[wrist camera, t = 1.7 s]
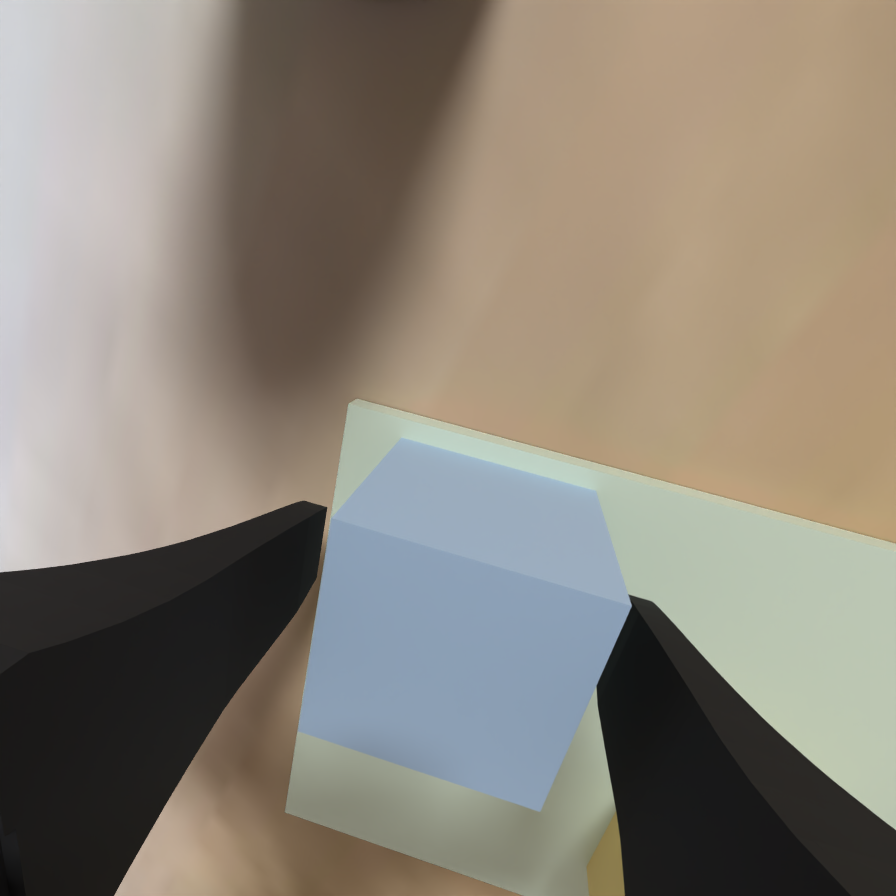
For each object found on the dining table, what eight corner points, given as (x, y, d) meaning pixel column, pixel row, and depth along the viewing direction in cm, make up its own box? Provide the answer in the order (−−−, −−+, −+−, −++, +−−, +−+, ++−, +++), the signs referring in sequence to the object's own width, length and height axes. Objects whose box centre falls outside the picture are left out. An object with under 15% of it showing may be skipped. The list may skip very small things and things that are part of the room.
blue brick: (595, 490, 12) (631, 605, 7) (537, 646, 13) (540, 812, 9) (401, 437, 12) (331, 518, 8) (369, 595, 14) (298, 731, 10)
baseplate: (1086, 594, 11) (1115, 611, 11) (772, 961, 17) (781, 985, 16) (356, 398, 13) (348, 403, 12) (292, 796, 18) (284, 812, 18)
